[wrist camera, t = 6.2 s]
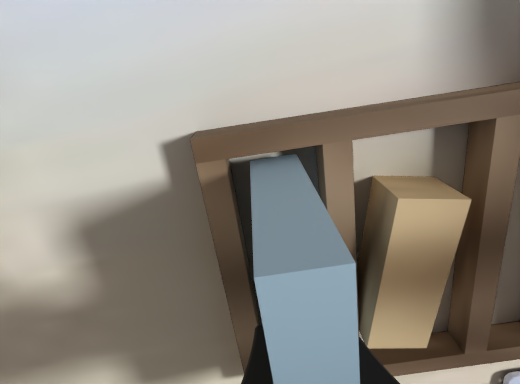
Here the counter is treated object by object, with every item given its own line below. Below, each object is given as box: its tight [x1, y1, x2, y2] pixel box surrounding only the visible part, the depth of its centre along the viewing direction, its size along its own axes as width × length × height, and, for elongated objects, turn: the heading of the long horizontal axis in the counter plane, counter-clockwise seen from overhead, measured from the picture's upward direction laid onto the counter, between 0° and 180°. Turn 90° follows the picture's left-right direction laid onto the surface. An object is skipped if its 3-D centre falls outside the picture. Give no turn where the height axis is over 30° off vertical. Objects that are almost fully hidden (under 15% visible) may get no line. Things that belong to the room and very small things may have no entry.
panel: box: [250, 154, 360, 384], centre depth 12 cm, size 12×2×8 cm, turn 8°
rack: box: [190, 82, 520, 376], centre depth 16 cm, size 15×18×2 cm
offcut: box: [357, 176, 472, 349], centre depth 16 cm, size 8×3×3 cm, turn 178°
